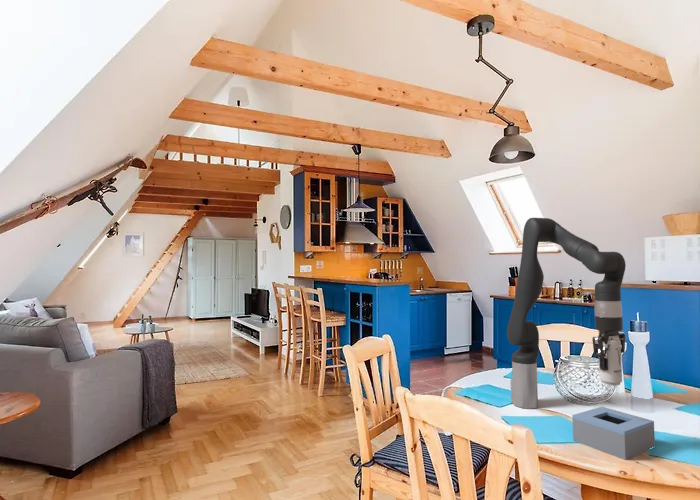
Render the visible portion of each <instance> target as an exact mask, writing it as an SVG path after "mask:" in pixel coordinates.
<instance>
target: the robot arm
mask: <svg viewBox="0 0 700 500" xmlns="http://www.w3.org/2000/svg"><path fill="white" fill-rule="evenodd" d="M523 226H524V227H523V233H522V246H521V247H522V249H521V259H520V265H519V271H518V275H517V281H516V289H515V293H514V294H515V295H514V300H513V306H512V308H511V312H510V316H509V319H508V323H507V327H506V328H507V329H506V336H507V340H508V342H509V343H510V344H511V345H514V346H519V348H518V349H517V350H516V351H515V352H513V353H512V355H511V370H512V377H511V379H510V403H511V404H513V405H514V406H515V407H518V408H521V409H536V408H538V407H539V397H538V396H539V392H538V366H537V364H538V362H537V361H538V356H539V352H540V351H539V348H540V347H539V346H540V345H539V344H540V335H539V334H540V333H539V329H538V326H537V324H535V322H534V321H531V320H527V317H528V315H529V313H530V311H531V309H532V307H533V306H534V305H535V303H536V302H537V301H538V299H539V297H540V296H541V294H542V289H543V285H544V278H545V275H544V272H543V269H542V266H541V264H540V261H539V258H538V248H539V243H551V244H556V245H559V246H560V247H561V248H562V250H563V251H564V252H565V253H566V254H567V255H568V256H570V258H573V259H575V260H577V261H578V262H581V264H582V265H583V266H585V268H586V269H588V271H590V272H591V273H594V274H598V275H604V277H603V280H601V281H597V282H596V283H595V285H594V301H595V302H594V327H595V330H597V331H598V336H593V337H592V340H591V341H592V347H593V355H594V356H595V357H598V362H599V361H600V369H601V370H605V371H606V370H608V358H607V357H608V352H609V351H610V344H608V347H607V348H604V347H603V341H604V343H605V344H607V342H608V339H609V336H615V335H618V338H619V339H620V341H621V355H622V354H624V353H625V350H626V334H624V333H620V332H622V331H623V330H624V326H623V325H624V324H623V323H624V322H623V321H624V320H623V305H622V299H621V298H622V297H621V294H622V293H621V286H622V284H623V280H624V275H625V271H626V260H625V257H624V256H623V255H622V254H621V253H620V252H618V251H599V250H600V249H599V248H598V246H597V245H595V244H594V243H592V242H590V241H588V240H586V239H585V238H581V237H580V236H577V235H575V233H572V232H571V231H568V229H566V228H564V227H563V226H562V225H561V224H560V223H558V222H556V221H555V220H554V219H551V218H549V217H548V218H547V217H530V218H528V219H527V220H526V221H525V223H524V225H523ZM612 339H613V337H612V338H611V341H612ZM604 350H605V353H604Z"/></svg>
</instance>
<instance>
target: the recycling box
mask: <svg viewBox="0 0 700 500" xmlns="http://www.w3.org/2000/svg"><path fill="white" fill-rule="evenodd" d="M571 419H572V441H573V442H577V443H579V444H582V445H585V446H586V447H589V448H593V449H596V450H598V451H601V452H604V453H606V454H609V455H611V456H614V457H616V458H619V459H622V460H624V461H625V460H628V459H631V458H634V457H636V456H638V455H640V454H643V453H645V452H648V451H650V450H651V449H650V448H652V447H654V446H655V447H656V439H655V436H656V435H655V421H654V420H651V419H648V418H644V417H641V416H637V415H633V414H630V413H627V412H623V411H619V410H616V409H613V408H609V407H606V406H599V407H595V408H592V409H588V410H585V411H582V412H579V413H575V414H572V418H571ZM649 449H650V450H649Z"/></svg>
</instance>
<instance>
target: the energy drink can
mask: <svg viewBox="0 0 700 500" xmlns="http://www.w3.org/2000/svg"><path fill="white" fill-rule="evenodd" d="M612 337H613V339H612V341H611V338H612ZM608 344H610V351H609V352H608V357H607V358H608V370H606V371H605V370H601V369H600V361H599V360H598V364H599V365H598V366H599V367H598V370H599V373H598V374H599V380H600V381H601V383H602V384H604V385H609V386H620V385H621V384H622V382H623V374H622V373H623V372H622V371H623V370H622V367H623V366H622V365H623V364H622V354H621V341H620V339H619V338H618V335H615V336H609V339H608V342H607V344H605V343H604V341H603V347H604V348H607V347H608ZM604 353H605V350H604Z"/></svg>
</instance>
